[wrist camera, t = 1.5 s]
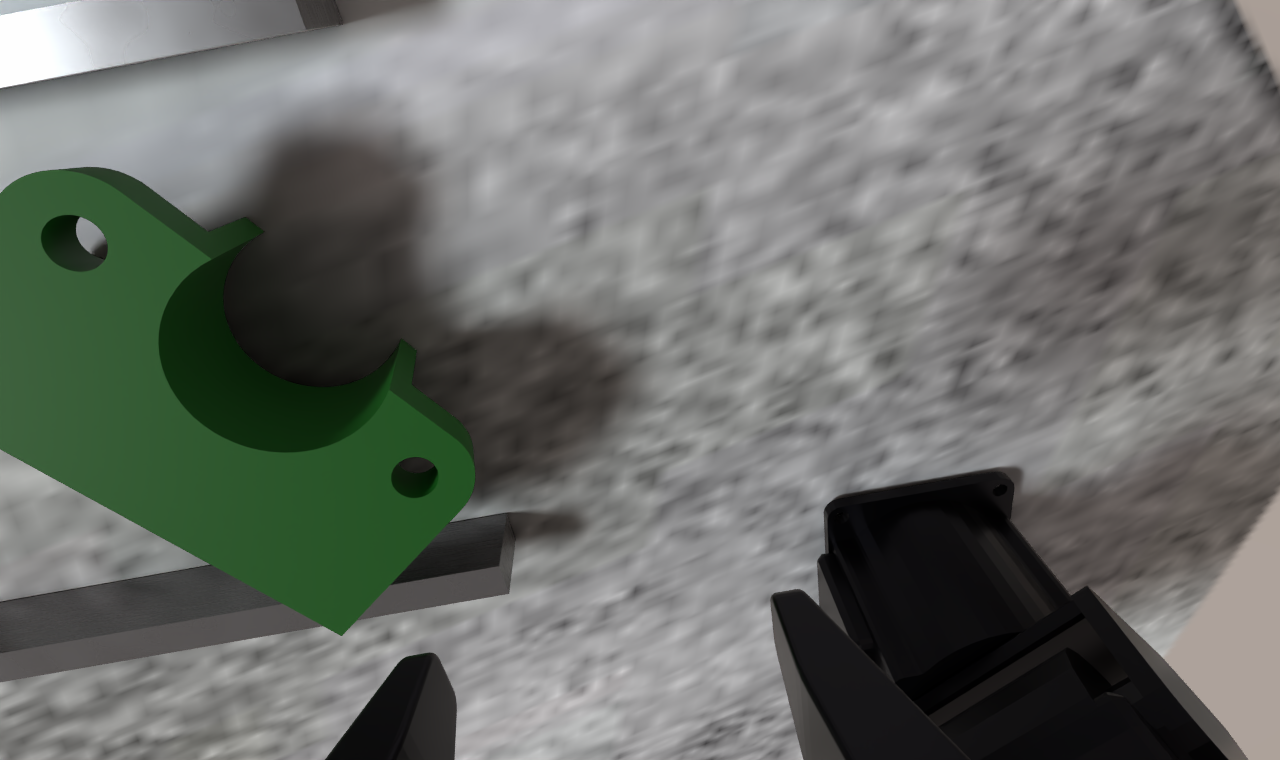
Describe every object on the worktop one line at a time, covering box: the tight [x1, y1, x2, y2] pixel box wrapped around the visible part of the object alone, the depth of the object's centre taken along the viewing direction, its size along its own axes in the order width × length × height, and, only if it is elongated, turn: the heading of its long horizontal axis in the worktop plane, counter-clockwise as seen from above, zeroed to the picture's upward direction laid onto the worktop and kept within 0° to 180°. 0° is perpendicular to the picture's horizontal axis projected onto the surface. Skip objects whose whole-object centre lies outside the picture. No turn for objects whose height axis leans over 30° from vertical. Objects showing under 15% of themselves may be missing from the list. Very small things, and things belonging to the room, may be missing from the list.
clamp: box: [0, 167, 475, 636], centre depth 18 cm, size 12×6×9 cm, turn 38°
